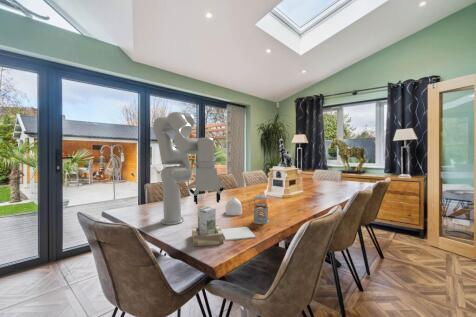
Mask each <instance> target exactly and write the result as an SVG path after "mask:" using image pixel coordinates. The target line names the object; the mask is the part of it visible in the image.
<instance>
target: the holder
mask: <svg viewBox="0 0 476 317" xmlns="http://www.w3.org/2000/svg"><path fill="white" fill-rule="evenodd" d="M221 229H222V228H221V227H220V225H219V224H216V234H206V235H198V226H195V227H193V226H192V227H191V236H192V237H191V238H192V245H193V247H202V246H203V247H204V246H211V245H220V244H224V236H223V233H222V231H221Z"/></svg>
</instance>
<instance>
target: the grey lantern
mask: <svg viewBox="0 0 476 317" xmlns="http://www.w3.org/2000/svg"><path fill="white" fill-rule="evenodd" d="M258 180H259V181H262V180H263V178H262V177H259V178H258ZM267 199H269V197H268V196H267V195H265V194H262V193H259V194H257V195H255V196H254V197H253V198H252V199H251V200H250V201H249V204H248V208H249V210H250V212H251V213H253V220H252V223H253V224H256V225H257V224H258V225H266V224H270V220H269V211H268V210H269V207H268V204H267V203H265V202H264V203H263V202H257V203H256V202H255V201H256V200H260V201H262V200H267ZM252 202H254V208H253V209H254V210H252V209H251V203H252Z"/></svg>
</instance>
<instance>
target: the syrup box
mask: <svg viewBox="0 0 476 317" xmlns="http://www.w3.org/2000/svg"><path fill="white" fill-rule="evenodd" d="M197 215H198V216H197V222H198V223H197V227H198V235H206V234H216V225H217V224H216V217H217V216H216V208H215V207H212V206H204V207H200V208H198V209H197Z"/></svg>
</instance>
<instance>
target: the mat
mask: <svg viewBox="0 0 476 317" xmlns="http://www.w3.org/2000/svg"><path fill="white" fill-rule="evenodd" d="M220 229H221V231H222V233H223V239H225V241H226V242H228V241H236V240H238V241H239V240H246V239H256V235H255V234H254V232H252V231H251V229H250V228H249V227H248V226H243V227H241V226H240V227H231V228H220Z"/></svg>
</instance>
